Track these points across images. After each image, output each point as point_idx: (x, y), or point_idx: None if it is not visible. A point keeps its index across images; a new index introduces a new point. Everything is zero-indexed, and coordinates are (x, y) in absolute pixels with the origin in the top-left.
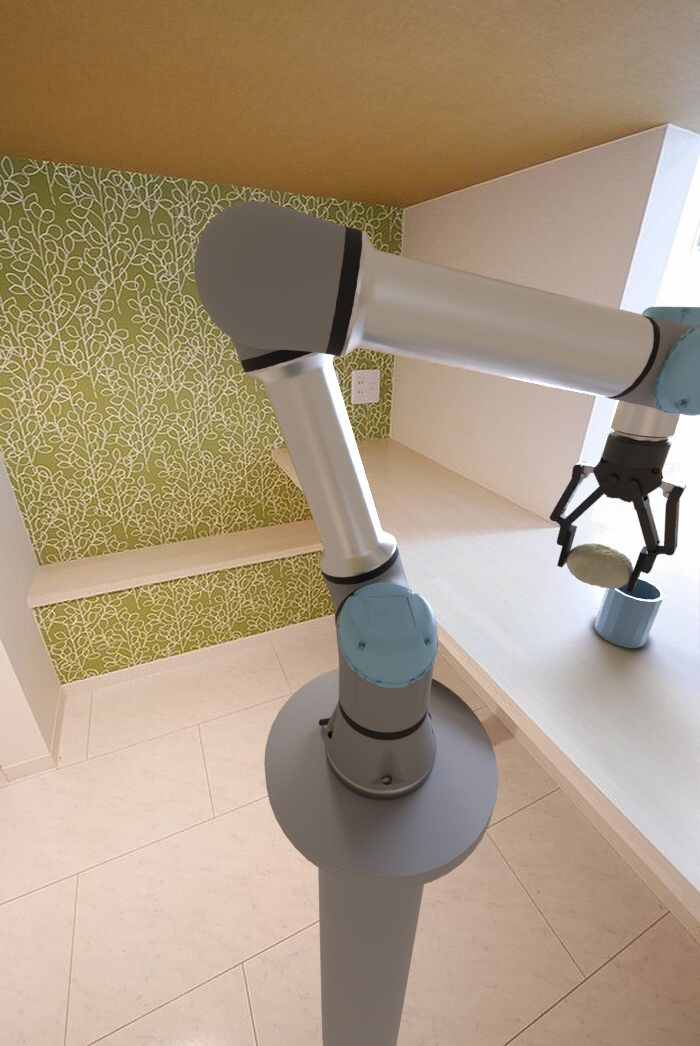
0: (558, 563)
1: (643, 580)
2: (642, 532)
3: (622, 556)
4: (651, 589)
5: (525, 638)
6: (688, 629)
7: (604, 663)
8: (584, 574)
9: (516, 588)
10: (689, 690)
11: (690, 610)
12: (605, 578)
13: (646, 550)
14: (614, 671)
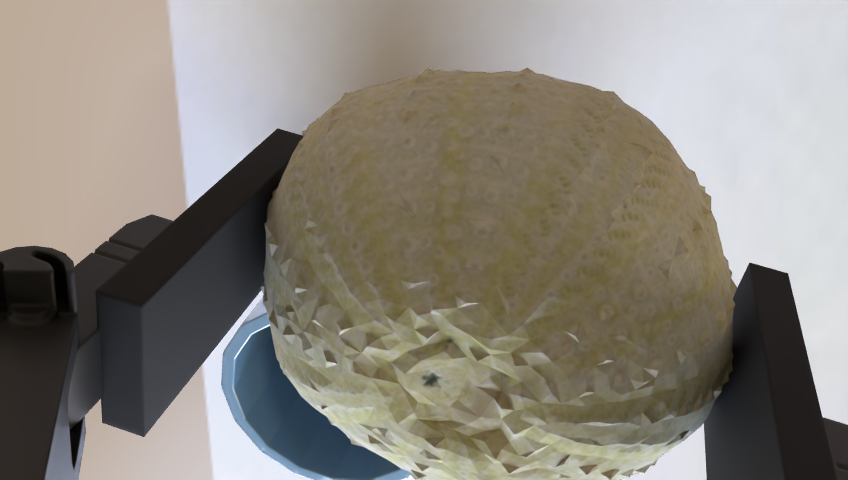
0: (784, 286)
1: (305, 467)
2: (42, 473)
3: (317, 353)
4: (277, 428)
5: (789, 47)
6: (210, 367)
7: (443, 43)
8: (594, 97)
9: (832, 409)
10: (177, 39)
11: (214, 465)
12: (429, 88)
13: (109, 364)
14: (406, 11)
